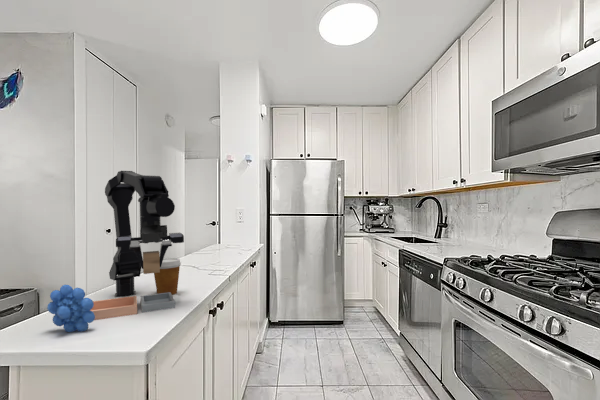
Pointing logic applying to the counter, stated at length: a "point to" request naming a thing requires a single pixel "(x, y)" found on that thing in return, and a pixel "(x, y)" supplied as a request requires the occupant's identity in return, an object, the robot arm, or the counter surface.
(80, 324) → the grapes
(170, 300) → the tray
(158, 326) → the counter surface
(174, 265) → the disposable coffee cup
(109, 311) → the dish
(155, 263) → the block
